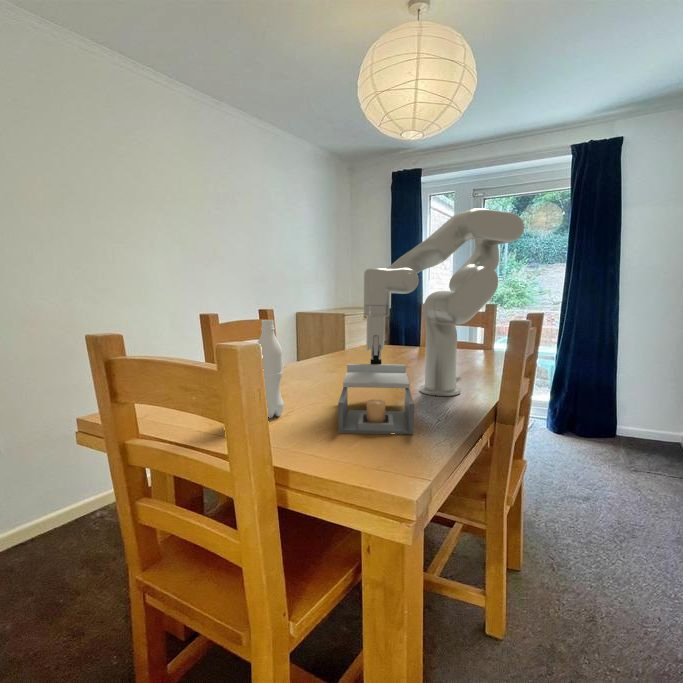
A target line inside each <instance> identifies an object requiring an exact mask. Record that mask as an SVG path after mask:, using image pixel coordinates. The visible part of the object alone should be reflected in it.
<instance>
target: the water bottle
mask: <svg viewBox="0 0 683 683" xmlns="http://www.w3.org/2000/svg"><path fill="white" fill-rule="evenodd" d="M260 327H261V328H260V330H261V334H260V337H259V339H258V340H257V343H259V344H261V347H262V355H263V369H264V379H265V389H266V400H267V408H268V417H269V418H268V419H272V418H273V417H274V416H276V417H280V416H281V415H282V413H283V412H284V407H285V406H284V405H285V403H284V400H283V398H282V394H281V380H282V378H283V375H284V370H283V348H282V346H281V344H280V342H279V340H278V338H277V336H276V333H275V329H276V328H275V325H274V319H262V320H261V326H260Z"/></svg>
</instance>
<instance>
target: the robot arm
mask: <svg viewBox="0 0 683 683" xmlns="http://www.w3.org/2000/svg"><path fill="white" fill-rule="evenodd" d="M524 225H525V224H524V220H523V219H522V218H521V217H520V216H519V215H518V214H516V213H513V212H509V211H502V210H494V209H488V208H477V207H476V208H471V209H469V210H468V209H467V210H465V211H461V212H458V213H455V214H454V215H453V216H451V218H449V219H448V220H447V221H446V222H444V223H443V224H442V225H440V227H439V228H437V229H436V230H435V231H434V232H433V233H432V234H431V235H429V236H428V237H427V238H426V239H425V240H423V241H422V242H420V243H419V244H417V245H416V246H415V247H413V248H411V249H410V250H408V251H407V252H405V253H404V254H403V255H402V256H400V257H399V258H398V259H397V260H395V261H394V262H393V263H392V264H390V265H389V266H388V268H384V267H382V268H381V267H372V268H371V267H370V268H366V269H365V271H364V273H363V316H364V317H366V340H365V342H366V345H365V347H366V348H365V349H366V351H369V350H371V351H370V352H371V353H370V354H371V355H370V357H371V358H370V364H382V358H381V357H382V351H383V350H384V345H385V338H386V337H385V336H386V335H385V334H386V317H390V308H391V307H390V306H391V302H390V298H391V294H399V295H400V294H401V295H403V294H405V295H406V294H410V293H412V292H414V291H415V290H416V289H417V288H418V286H419V282H420V279H419V275H418V274H419V273H420V272H422V271H425V270H427V269H429V268H432V267H436V266H437V265H440V264H441V263H444V262H445V261H446V260H447V259H449V257H450V256H451V255H453V254H454V253H455V252H456V251H457V250H458V249H459V248H461V247H462V246H463V245H464V244H465V243H466V242H468V241H471V240H474V244H475V248H474V251H473V253H472V255H471V256H470V257H469V258H468V259H467V261H465V262H464V263H463V264H462V266H461V267H459V269H458V270H456V271H455V272H454V274H453V275H452V276H451V278H450V279H449V284H448V288H449V290H438V291H434V292H432V293H430V294H429V295H428V296H427V297H426V299H425V301H424V303H423V316H424V322H425V354H424V355H425V356H424V358H425V359H424V361H425V362H424V383H423V384H421V385H420V386H419V391H420V393H423V394H425V395H429V396H435V395H436V397H453V396H457V395H460V393H461V388H460V387H459V386H457V383H458V382H461V381H462V377H461V375H457V355H458V354H457V352H458V351H457V350H458V349H457V348H458V333H457V327H456V325H463V324H465V323H467V322H469V321H470V320H471V319H472V320H473V318H474V317H475V315H476V314H478V312H480V311H481V309H482V308H484V306H485V305H486V304H487V303H488V302H490V300H491V299H492V298H493V296H494V295H495V294H496V291H497V289H498V286H499V277H498V274H497V272H496V271H495V270H497V267H498V266H499V263H500V252H499V251H500V250H499V245H504V244H511V243H514V242H516V241H517V240H519V239H520V238H521V236H522V235H523V233H524V230H525V226H524Z"/></svg>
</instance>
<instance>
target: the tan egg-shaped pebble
mask: <svg viewBox="0 0 683 683" xmlns="http://www.w3.org/2000/svg"><path fill="white" fill-rule="evenodd" d="M366 410H367V423H385V411H386V401H385V400H383V399H368V400H367V401H366Z"/></svg>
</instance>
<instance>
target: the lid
mask: <svg viewBox="0 0 683 683" xmlns="http://www.w3.org/2000/svg"><path fill="white" fill-rule="evenodd" d="M342 383H343V384H342V388H343V387H348V388H362V389H363V388H370V389H371V388H374V389H376V388H377V389H383V388H384V389H405V388H409V389H410V381H409V378H408V374H407V364H393V363H392V364H388V363H387V364H386V363H384V364H383V363H381V364H371V363H347V364H346V374H345V376H344V378H343V382H342Z"/></svg>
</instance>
